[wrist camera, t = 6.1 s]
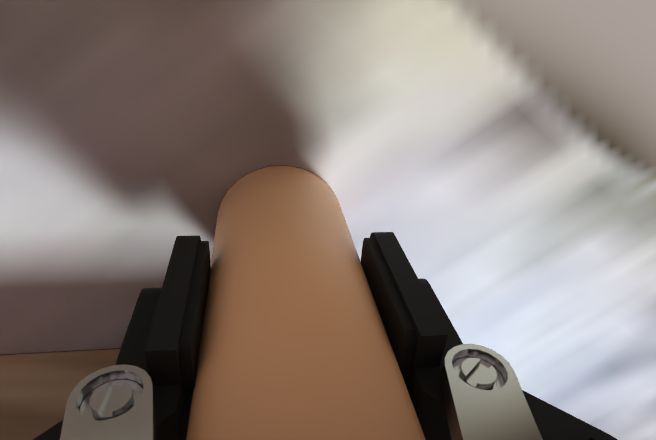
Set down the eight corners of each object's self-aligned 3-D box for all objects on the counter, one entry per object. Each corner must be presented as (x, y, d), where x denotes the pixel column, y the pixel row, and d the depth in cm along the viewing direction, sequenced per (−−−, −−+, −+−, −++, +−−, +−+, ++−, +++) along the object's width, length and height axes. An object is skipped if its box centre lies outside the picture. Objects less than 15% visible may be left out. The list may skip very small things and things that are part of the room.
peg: (336, 272, 16) (436, 629, 7) (220, 275, 15) (178, 671, 7) (346, 165, 14) (494, 479, 5) (213, 165, 14) (144, 518, 5)
